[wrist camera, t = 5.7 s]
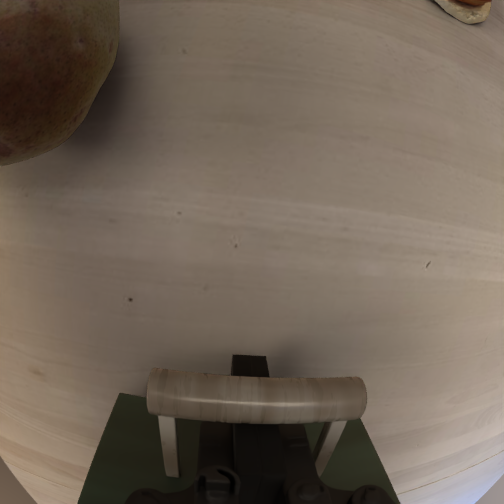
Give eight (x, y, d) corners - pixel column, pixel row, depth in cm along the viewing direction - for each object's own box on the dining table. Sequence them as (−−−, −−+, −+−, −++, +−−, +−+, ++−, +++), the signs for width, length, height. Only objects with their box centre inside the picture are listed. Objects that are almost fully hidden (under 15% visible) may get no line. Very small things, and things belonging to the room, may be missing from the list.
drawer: (107, 298, 13) (21, 409, 6) (384, 318, 14) (473, 420, 7) (147, 504, 18) (137, 574, 11) (301, 510, 20) (315, 578, 12)
